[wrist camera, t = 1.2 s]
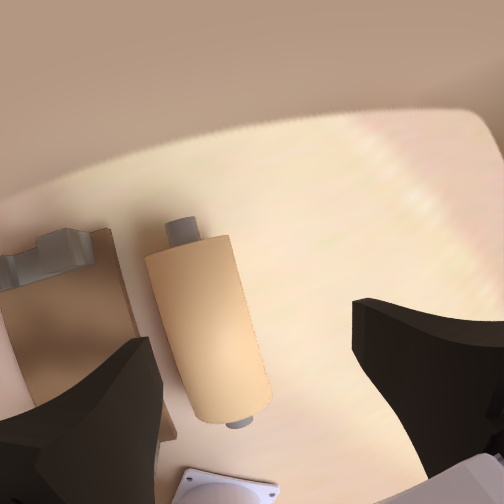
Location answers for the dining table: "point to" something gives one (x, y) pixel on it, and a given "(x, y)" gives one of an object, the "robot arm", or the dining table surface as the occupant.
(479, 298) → the dining table surface
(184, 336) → the paper roll
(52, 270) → the roll holder
